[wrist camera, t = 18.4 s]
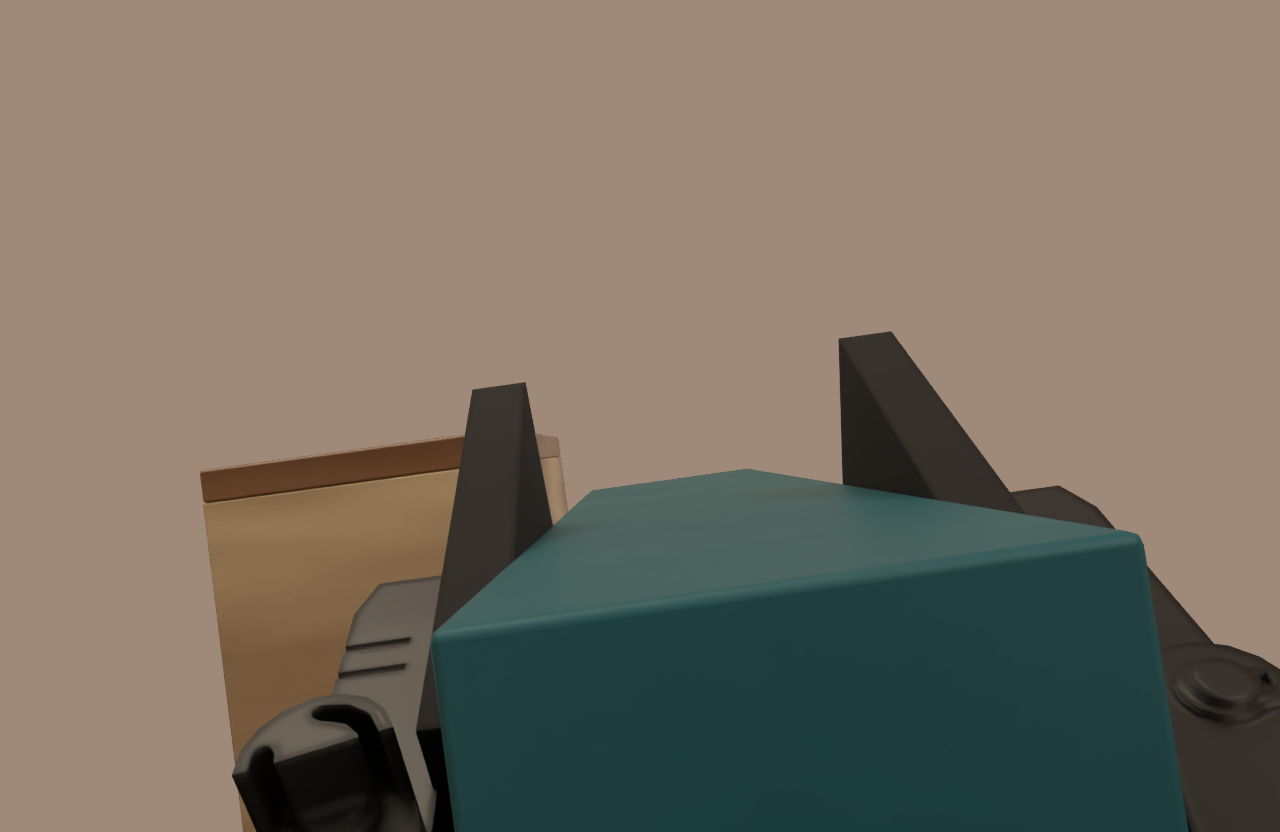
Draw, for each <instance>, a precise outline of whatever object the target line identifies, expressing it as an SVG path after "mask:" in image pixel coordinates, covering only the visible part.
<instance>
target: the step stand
mask: <svg viewBox="0 0 1280 832" xmlns="http://www.w3.org/2000/svg"><path fill="white" fill-rule="evenodd" d="M535 435H536V440H537V445H538V450H539V455H540V461H541V466H542V471H543V476H544V481H545V487H546V492H547V497H548V502H549V507H550V513H551V518H552V523H553V525H554V524H555V523H556V522H558V521H559V520H560V519H561V518H562V517H563V516H564V515H565V514H566V513H568V507H567V500H566V493H565V485H564V478H563V470H562V463H561V458H560V457H559V456H560V449H559V441H558V438H557V437H553V436H547V435H540V434H535ZM464 438H465V435H458V436H451V437H443V438H436V439H428V440H422V441H414V442H407V443H400V444H392V445H384V446H377V447H370V448H363V449H355V450H348V451H340V452H333V453H326V454H319V455H311V456H304V457H296V458H289V459H282V460H275V461H267V462H260V463H253V464H245V465H238V466H231V467H224V468H216V469H208V470H203V471H201V473H200V477H201V485H202V493H203V500H204V502H205V504H204V505H203V507H204V515H205V523H206V531H207V539H208V547H209V556H210V564H211V572H212V580H213V589H214V597H215V605H216V613H217V621H218V629H219V637H220V646H221V654H222V661H223V670H224V678H225V686H226V694H227V702H228V710H229V719H230V727H231V735H232V743H233V751H234V760H235V764H236V761H237V758H238V755H239V752H240V751H241V749H242V748H243V747H244V746H245V744H246V743H247V742H248V741H249V740H250V738H251V737H252V736H253V735H254V733H255V732H256V731H257V730H258V729H259V728H260V727H261V726H263V725H264V724H266V723H267V722H268V721H270V720H271V719H272V718H274V717H275V716H277V715H278V714H279V713H281V712H282V711H283V710H286V709H288V708H291V707H293V706H295V705H298V704H300V703H302V702H305V701H307V700H309V699H312V698H317V697H323V696H329V695H332V692H333V689H334V685H335V682H336V680H338V678H339V677H338V671H339V667H340V664H341V660H342V656H343V653H345V652H346V648H345V645H346V642H347V638H348V635H349V631H350V627H351V624H352V620H353V617H354V614H355V613H356V611H357V610H358V609H359V608H360V607H361V605H362V604H363V603H364V602H365V600H366V599H367V598H368V597H369V596H370V594H371V593H372V592H373V591H374V590H375V588H376V587H377V586H378V585H379V584H382V583H389V582H396V581H403V580H410V579H417V578H424V577H432V576H439V575H442V570H443V564H444V558H445V552H446V546H447V540H448V534H449V528H450V522H451V516H452V510H453V504H454V498H455V492H456V486H457V480H458V474H459V468H460V462H461V456H462V450H463V444H464ZM238 792H239V791H238ZM239 800H240V808H241V816H242V825H243V832H256V830H255V828H254V825H253V823H252V821H251V818H250V816H249V814H248V812H247V809H246V807H245V805H244V802H243V800H242V798H241V795H240V793H239Z"/></svg>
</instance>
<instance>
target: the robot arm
mask: <svg viewBox="0 0 1280 832" xmlns="http://www.w3.org/2000/svg"><path fill="white" fill-rule="evenodd" d="M839 367H840V402H841V403H840V404H841V438H842V471H843V472H842V473H843V485H849V486H855V487H861V488H867V489H873V490H879V491H885V492H891V493H897V494H903V495H909V496H915V497H922V498H928V499H934V500H940V501H946V502H952V503H958V504H964V505H970V506H976V507H982V508H988V509H995V510H1001V511H1007V512H1013V513H1019V514H1025V515H1031V516H1037V517H1043V518H1049V519H1055V520H1061V521H1067V522H1074V523H1080V524H1086V525H1092V526H1098V527H1104V528H1110V529H1115V528H1114V527H1113V525H1112V524H1111V523H1110V522H1109V521H1108V520H1107V518H1106V517H1105V516H1104V515H1103V514H1102V513H1101V511H1100V510H1099V509H1098V508H1097V507H1096V506H1094V505H1092V504H1090V503H1089V502H1087V501H1085V500H1084V499H1082V498H1080V497H1078V496H1077V495H1075V494H1073V493H1071V492H1069V491H1068V490H1066V489H1064V488H1062V487H1061V486H1052V487H1045V488H1038V489H1030V490H1023V491H1016V492H1009V491H1008V489H1007V488H1006V486H1005V485H1004V484H1003V482H1002V481H1001V480H1000V478H999V477H998V476H997V474H996V473H995V471H994V470H993V469H992V467H991V466H990V465H989V463H988V462H987V461H986V459H985V458H984V457H983V455H982V454H981V453H980V451H979V450H978V449H977V447H976V446H975V444H974V443H973V442H972V440H971V439H970V438H969V436H968V435H967V433H966V432H965V431H964V430H963V428H962V427H961V425H960V424H959V423H958V421H957V420H956V419H955V417H954V416H953V415H952V413H951V412H950V411H949V409H948V408H947V406H946V405H945V404H944V402H943V401H942V400H941V398H940V397H939V396H938V394H937V393H936V392H935V390H934V389H933V387H932V386H931V385H930V384H929V382H928V381H927V379H926V378H925V377H924V375H923V374H922V373H921V371H920V370H919V369H918V367H917V366H916V364H915V363H914V362H913V360H912V359H911V358H910V356H909V355H908V354H907V352H906V351H905V349H904V348H903V347H902V345H901V344H900V343H899V341H898V340H897V339H896V337H895V336H894V335H893V333H892V332H884V333H876V334H870V335H863V336H855V337H848V338H841V339H839ZM552 526H553V523H552V518H551V513H550V507H549V502H548V497H547V492H546V487H545V481H544V476H543V471H542V466H541V461H540V455H539V450H538V445H537V440H536V435H535V430H534V425H533V419H532V414H531V409H530V404H529V398H528V393H527V388H526V383H525V382H524V383H517V384H510V385H503V386H496V387H488V388H481V389H474V390H472V396H471V402H470V408H469V414H468V420H467V426H466V432H465V438H464V444H463V450H462V456H461V462H460V468H459V474H458V480H457V486H456V492H455V498H454V504H453V510H452V516H451V522H450V528H449V534H448V540H447V546H446V552H445V558H444V564H443V570H442V575H439V576H432V577H424V578H417V579H410V580H403V581H396V582H389V583H382V584H379V585H378V586H377V587H376V588H375V590H374V591H373V592H372V593H371V594H370V596H369V597H368V598H367V599H366V600H365V602H364V603H363V604H362V605H361V607H360V608H359V609H358V610H357V611H356V613H355V614H354V617H353V620H352V624H351V627H350V631H349V635H348V638H347V642H346V645H345V648H346V652H345V653H343V656H342V660H341V664H340V667H339V671H338V677H339V678H338V680H336V682H335V685H334V689H333V692H332V695H329V696H323V697H317V698H312V699H309V700H307V701H305V702H302V703H300V704H298V705H295V706H293V707H291V708H288V709H286V710H283V711H282V712H281V713H279V714H278V715H277V716H275V717H274V718H272V719H271V720H270V721H268V722H267V723H266V724H264V725H263V726H261V727H260V728H259V729H258V730H257V731H256V732H255V733H254V735H253V736H252V737H251V738H250V740H249V741H248V742H247V743H246V744H245V746H244V747H243V748H242V749H241V751H240V752H239V755H238V758H237V761H236V764H235V767H234V771H233V774H232V777H233V779H234V781H235V784H236V786H237V789H238V791H239V793H240V795H241V798H242V800H243V802H244V805H245V807H246V809H247V812H248V814H249V816H250V818H251V821H252V823H253V825H254V828H255V830H256V832H455V830H454V823H453V815H452V808H451V800H450V793H449V785H448V777H447V770H446V762H445V755H444V747H443V740H442V732H441V724H440V717H439V709H438V702H437V694H436V687H435V679H434V671H433V664H432V656H431V649H430V642H431V639H432V635H433V633H434V632H435V631H436V630H437V629H438V628H440V627H441V626H442V625H443V624H444V623H445V622H446V621H447V620H448V619H450V618H451V617H452V616H453V615H454V614H455V613H456V612H457V611H458V610H460V609H461V608H462V607H463V606H464V605H465V604H466V603H467V602H468V601H470V600H471V599H472V598H473V597H474V596H475V595H476V594H477V593H478V592H480V591H481V590H482V589H483V588H484V587H485V586H486V585H487V584H489V583H490V582H491V581H492V580H493V579H494V578H495V577H496V576H497V575H499V574H500V573H501V572H502V571H503V570H504V569H505V568H506V567H507V566H509V565H510V564H511V563H512V562H513V561H514V560H515V559H516V558H517V557H519V556H520V555H521V554H522V553H523V552H524V551H525V550H526V549H527V548H529V547H530V546H531V545H532V544H533V543H534V542H535V541H536V540H537V539H539V538H540V537H541V536H542V535H543V534H544V533H545V532H546V531H547V530H549V529H550V528H551V527H552ZM1147 569H1148V575H1149V582H1150V588H1151V595H1152V601H1153V607H1154V614H1155V620H1156V627H1157V633H1158V639H1159V646H1160V652H1161V659H1162V665H1163V671H1164V678H1165V684H1166V691H1167V697H1168V703H1169V710H1170V716H1171V723H1172V729H1173V736H1174V742H1175V748H1176V755H1177V761H1178V768H1179V774H1180V780H1181V787H1182V793H1183V800H1184V806H1185V812H1186V819H1187V825H1188V832H1280V669H1278V668H1277V667H1275V666H1274V665H1272V664H1271V663H1269V662H1267V661H1266V660H1264V659H1263V658H1261V657H1259V656H1256V655H1253V654H1251V653H1248V652H1245V651H1242V650H1239V649H1236V648H1234V647H1231V646H1227V645H1219V644H1214V643H1213V642H1212V641H1211V640H1210V638H1209V637H1208V636H1207V635H1206V634H1205V633H1204V631H1203V630H1202V629H1201V628H1200V627H1199V626H1198V624H1197V623H1196V622H1195V621H1194V620H1193V619H1192V618H1191V616H1190V615H1189V614H1188V613H1187V612H1186V611H1185V609H1184V608H1183V607H1182V606H1181V605H1180V603H1179V602H1178V601H1177V600H1176V599H1175V598H1174V596H1172V594H1171V593H1170V592H1169V591H1168V590H1167V589H1166V587H1165V586H1164V585H1163V584H1162V583H1161V581H1160V580H1159V579H1158V578H1157V577H1156V576H1155V575H1154V573H1153V572H1152V571H1151V570H1150V569H1149V567H1148V566H1147Z"/></svg>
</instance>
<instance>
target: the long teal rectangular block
mask: <svg viewBox="0 0 1280 832" xmlns="http://www.w3.org/2000/svg"><path fill="white" fill-rule="evenodd" d="M430 649H431V656H432V664H433V671H434V679H435V687H436V694H437V702H438V709H439V717H440V724H441V732H442V740H443V747H444V755H445V762H446V770H447V777H448V785H449V793H450V800H451V808H452V815H453V823H454V830H455V832H1188V825H1187V819H1186V812H1185V806H1184V800H1183V793H1182V787H1181V780H1180V774H1179V768H1178V761H1177V755H1176V748H1175V742H1174V736H1173V729H1172V723H1171V716H1170V710H1169V703H1168V697H1167V691H1166V684H1165V678H1164V671H1163V665H1162V659H1161V652H1160V646H1159V639H1158V633H1157V627H1156V620H1155V614H1154V607H1153V601H1152V595H1151V588H1150V582H1149V575H1148V569H1147V563H1146V556H1145V550H1144V545H1143V543H1142V541H1141V539H1140V537H1139V536H1138V534H1135V533H1131V532H1127V531H1122V530H1116V529H1110V528H1104V527H1098V526H1092V525H1086V524H1080V523H1074V522H1067V521H1061V520H1055V519H1049V518H1043V517H1037V516H1031V515H1025V514H1019V513H1013V512H1007V511H1001V510H995V509H988V508H982V507H976V506H970V505H964V504H958V503H952V502H946V501H940V500H934V499H928V498H922V497H915V496H909V495H903V494H897V493H891V492H885V491H879V490H873V489H867V488H861V487H855V486H849V485H843V484H836V483H830V482H824V481H818V480H812V479H806V478H799V477H794V476H788V475H782V474H776V473H770V472H763V471H757V470H751V469H742V470H736V471H728V472H721V473H714V474H706V475H700V476H692V477H686V478H678V479H672V480H664V481H657V482H650V483H642V484H636V485H628V486H621V487H614V488H607V489H600V490H593V491H591V492H590V493H589V494H588V495H586V496H585V497H584V498H583V499H582V500H581V501H580V502H579V503H578V504H577V505H575V506H574V507H573V508H572V509H571V510H570V511H569V512H568V513H566V514H565V515H564V516H563V517H562V518H561V519H560V520H559V521H558V522H556V523H555V524H554V525H553V526H552V527H551V528H550V529H549V530H547V531H546V532H545V533H544V534H543V535H542V536H541V537H540V538H539V539H537V540H536V541H535V542H534V543H533V544H532V545H531V546H530V547H529V548H527V549H526V550H525V551H524V552H523V553H522V554H521V555H520V556H519V557H517V558H516V559H515V560H514V561H513V562H512V563H511V564H510V565H509V566H507V567H506V568H505V569H504V570H503V571H502V572H501V573H500V574H499V575H497V576H496V577H495V578H494V579H493V580H492V581H491V582H490V583H489V584H487V585H486V586H485V587H484V588H483V589H482V590H481V591H480V592H478V593H477V594H476V595H475V596H474V597H473V598H472V599H471V600H470V601H468V602H467V603H466V604H465V605H464V606H463V607H462V608H461V609H460V610H458V611H457V612H456V613H455V614H454V615H453V616H452V617H451V618H450V619H448V620H447V621H446V622H445V623H444V624H443V625H442V626H441V627H440V628H438V629H437V630H436V631H435V632H434V633H433V635H432V639H431V642H430Z"/></svg>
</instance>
